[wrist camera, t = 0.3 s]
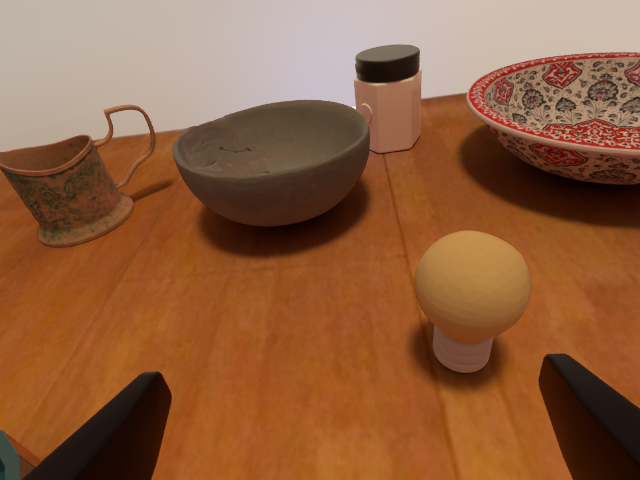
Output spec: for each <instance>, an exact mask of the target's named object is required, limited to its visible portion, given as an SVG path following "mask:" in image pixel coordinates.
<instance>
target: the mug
mask: <svg viewBox="0 0 640 480" xmlns="http://www.w3.org/2000/svg"><path fill="white" fill-rule="evenodd" d="M131 109H132V110H137V111H140V112H141V113H142V114H143V115H144V117H145V119H146V121H147V123H148V126H149V129H150V134H151V144H150V147H149V149H148V151H147V152H146V153H145V154H144V155H142V156H141V157H140V158H139V159H137V160H136V161H135V162H134V164H133V165H132V166H131V168H130V170H129V171H128V173H127V175H126V177H125V178H124V179H123V180H122V181H121V182H119V183H117V184H115V183H114V182H113V180H112V178H111V176H110V174H109V172H108V170H107V169H106V167H105V165H104V163H103V161H102V159H101V157H100V155H99V153H98V151H97V147H100V146H102V145H104V144H106V143H107V142H109V141H110V139H111V138H112V135H113V125H112V122H111V119H110V116H109V115H110V114H111V113H114V112H118V111H123V110H131ZM104 113H105V115H106V118H107V120H108V124H109V132H108V135H107V136H106V137H105V138H104V139H102V140H100V141H98V142H95V143H93V141H92V139H91V137H90V136H88V135H79V136H75V137H72V138H69V139H66V140H63V141H60V142H57V143H53V144H48V145H43V146H36V147H30V148H29V147H28V148H22V149H16V150H11V151H6V152H0V169H1V170H2V172H3V173H4V175H5V176H6V178H7V179H8V181H9V182H10V184H11V185H12V186H13V188H14V189H15V191H16V192H17V193H18V195H19V196H20V197H21V199H22V200H23V202H24V204H25V205H26V207H27V208H28V209H29V210H30V211H31V213H32V215H33V216H34V218H35V219H36V220H37V221H38V223H39V224H40V226H39V230H38V234H37V235H38V238H39V240H40V241H41V242H42V243H43V244H44V245H46V246H50V247H68V246H73V245H78V244H81V243H85V242H88V241H90V240H93V239H96V238H98V237H100V236H102V235H104V234H106V233H108V232H110V231H111V230H113V229H115V228H116V227H118V226H119V225H120V224H121V223H123V222H124V221H125V220H126V219H127V218H128V217H129V216H130V214H131V213H132V211H133V208H134V203H133V201H132V199H131V198H130V197H129V196H128V195H126V194H123V193H121V192H119V190H118V189H119V188H121V187H123V186H125V185H126V184H127V183H128V182H129V180H130V179H131V177H132V175H133V173H134V171H135V170H136V169H137V167H138V166H139V165H140V164H141V163H142V162H144V161H145V160H146V159H147V158H148V157H149V156H150V155H151V154H152V153H153V151H154V148H155V133H154V129H153V126H152V124H151V121H150V119H149V118H148V115H147V114H146V113H145V112H144V111H143V110H142V109H141V108H140V107H138V106H134V105H123V106H117V107H113V108H110V109H106V110H104Z"/></svg>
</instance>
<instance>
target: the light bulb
mask: <svg viewBox="0 0 640 480" xmlns="http://www.w3.org/2000/svg"><path fill="white" fill-rule="evenodd" d="M414 283H415V293H416V297H417V300H418V303H419V305H420V307H421V309H422V310H423V312H424V314H425V315H426V317H427V318H428V319H429V320H430V321H431V322H432V323H433V324H434V335H433V351H434V354H435V356H436V357H437V359H438V360H439V361H440V363H442V364H443V365H444V366H445V367H447V368H449V369H451V370H453V371H456V372H461V373H470V372H475V371H477V370H480V369H481V368H482V367H484V366H485V365H486V364H487V362H488V360H489V357H490V351H491V347H492V342H493V338H494V337H495V336H497V335H499V334H501V333H503V332H505V331H507V330H508V329H509V328H511V327H512V326H513V325H514V324H515V323H516V322H517V321H518V320H519V319H520V317H521V316H522V314H523V313H524V311H525V309H526V307H527V304H528V301H529V297H530V288H531V283H530V275H529V271H528V267H527V265H526V263H525V260H524V258H523V257H522V255H521V254H520V253H519V252H518V251H517V250H516V249H515V248H514V247H512V246H511V245H510V244H508V243H507V242H505V241H503V240H501V239H499V238H497V237H495V236H492V235H489V234H487V233H482V232H477V231H459V232H455V233H452V234H449V235H447V236H445V237H443V238H441V239H439V240H438V241H436V242H435V243H434V244H433V245H432V246H430V247H429V248H428V250H427V251H426V252H425V253H424V255H423V256H422V258H421V259H420V261H419V263H418V266H417V269H416V273H415V280H414Z"/></svg>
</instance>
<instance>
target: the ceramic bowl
mask: <svg viewBox="0 0 640 480" xmlns="http://www.w3.org/2000/svg"><path fill="white" fill-rule="evenodd" d="M466 100H467V105H468V107H469V109H470V111H471V112H472V113H473V114H474V115H475V116H476V117H477V118H478V119H480V120H481V121H483V122H484V123H486V124H488V126H489V128H490V130H491V131H492V133H493V134H494V136H495V137H496V138H497V139H498V140H499V141H500V143H501V144H502V145H503V146H504V147H505V148H507V149H508V150H509V151H510V152H511V153H513V154H514V155H515V156H517V157H518V158H520V159H521V160H523V161H525V162H526V163H528V164H530V165H532V166H534V167H537V168H539V169H541V170H544V171H546V172H549V173H552V174H556V175H559V176H563V177H567V178H571V179H576V180H581V181H587V182H595V183H605V184H640V53H625V52H623V53H622V52H621V53H589V54H574V55H565V56H555V57H548V58H542V59H536V60H531V61H526V62H521V63H517V64H514V65H510V66H507V67H504V68H501V69H498V70H495V71H493V72H490V73H488V74H486V75H485V76H483V77H481V78H480V79H478V80H477V81H475V82H474V83H473V84H472V85H471V87H470V88H469V90H468V93H467V96H466Z"/></svg>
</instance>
